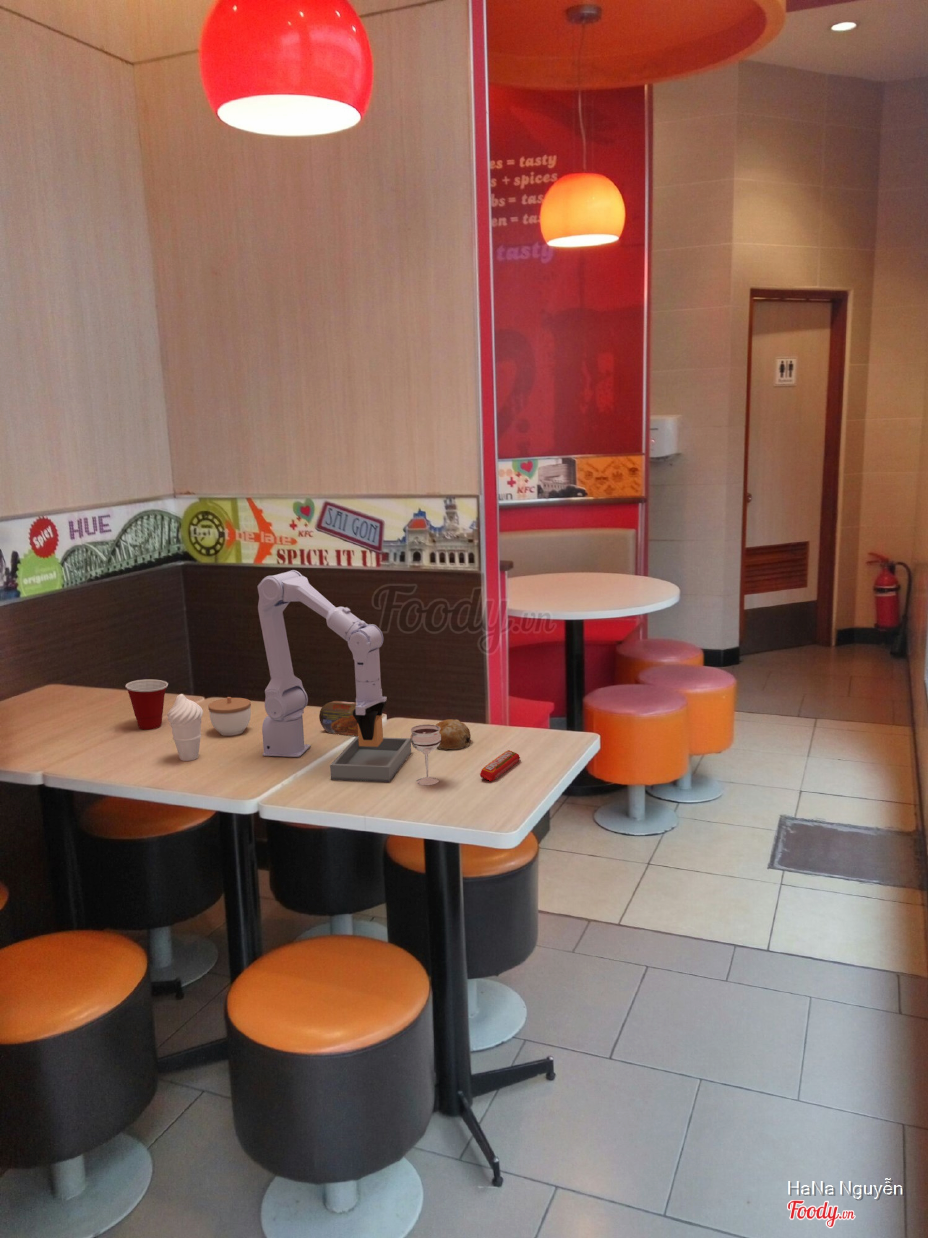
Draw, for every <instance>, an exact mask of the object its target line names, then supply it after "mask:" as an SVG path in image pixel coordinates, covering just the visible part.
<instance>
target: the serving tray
mask: <svg viewBox="0 0 928 1238" xmlns="http://www.w3.org/2000/svg"><path fill="white" fill-rule="evenodd" d="M354 737H355V738H354V739H352V741H351V742H350V743H349V744H348V745H347V746H346V747H345V748H344V749H343V750H342V751H341V752H340V753H339V755H338V756H337V757H336V758H334V760H333V761H332V762H331V763H330V765H329V769H330V780H331V781H352V782H373V783H374V782H376V783H391V781H392V780H393V778H394V777H395V775H396V774H397V773H398V771H399V770H400V769H401V767H403V765H404V764H405V762H406V761H407V759H408V758H409V756H410V755H411V754H412V743H411V740H410V738H411V737H410V738H409V737H408V738H407V737H406V738H405V737H384V736H383V741H382V742H381V743H380V745H379V746H378V747H373V746H359V740H358V736H354Z"/></svg>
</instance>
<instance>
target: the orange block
mask: <svg viewBox="0 0 928 1238" xmlns="http://www.w3.org/2000/svg"><path fill="white" fill-rule="evenodd" d="M357 724H358V723H357ZM383 731H384V730H383V714H382V715H377V716H376V719H375V724H374V735H373V739H372V740H363V737H362V734H361V731H360V728H359V725H358V736H357V737H358V740H359V746H373V747H378V746H379V745H380V743H381V742H382V741H383V737H384V732H383Z"/></svg>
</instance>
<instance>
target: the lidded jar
mask: <svg viewBox="0 0 928 1238" xmlns="http://www.w3.org/2000/svg"><path fill="white" fill-rule="evenodd" d="M251 704H252V702H251V700H249V699H248V698H242V697H231V696H227V697H226V698H220V699H218V700H214V701H211V702H210V703H209V704H208V708H207V709H208V711H209V712H208V713H209V718H210V719H209V720H210V722H211V726H212V727H213V728H214V729H215V730H216V732H218V733H219V735H220V736H225V737H227V736H228V737H230V736H236V735H240V734H242V733H244V731H245V729H246V728H247V727H248V726H249V724H250V721H251V715H252V707H251V706H252V705H251Z"/></svg>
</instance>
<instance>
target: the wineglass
mask: <svg viewBox="0 0 928 1238" xmlns="http://www.w3.org/2000/svg"><path fill="white" fill-rule="evenodd" d="M440 729H441V728H440V727H439V726H436V724H418V725H415V726H413V727H411V728H410V729H409V730H410V732H411V735H410V740H411V746H412V747H413V748H414V749H415V750H416V751H418V752H421V753H423V755H424V763H425V771H426V773H425V775H426V776H425V777H420V778H418V779H417V780H416V783H417V785H421V786H433V785H436V784H438V783H439V781H440V780H439V779H438V778H437V777H434V776H429V755H430V754H431V752H433V751H436V749H437V747H438V746H439V745H440V742H441V734H440V733H439V731H440Z"/></svg>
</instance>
